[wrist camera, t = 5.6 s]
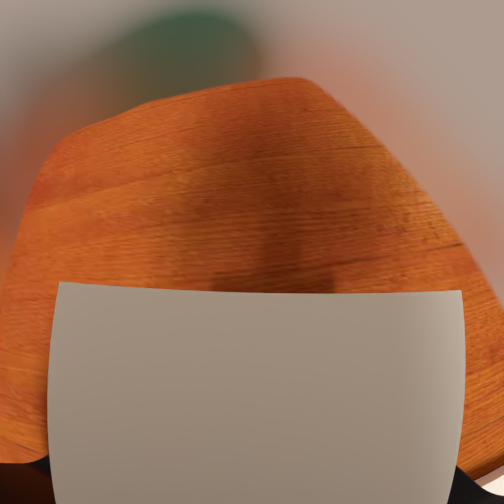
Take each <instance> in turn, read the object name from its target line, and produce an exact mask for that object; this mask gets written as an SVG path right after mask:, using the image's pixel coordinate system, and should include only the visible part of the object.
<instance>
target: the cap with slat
mask: <svg viewBox="0 0 504 504" xmlns="http://www.w3.org/2000/svg"><path fill="white" fill-rule="evenodd" d="M475 482H476V483H477V484H478V485H479V486H481V487H482V488H483V489H485V490H487V491H489V492H491V493H493V494H497V495H502V496H504V465H503V466H502V467H500V468H498V469H496V470H494V471H492V472H491V473H489V474H487V475H485V476H483V477H481V478H479V479H477V480H475Z"/></svg>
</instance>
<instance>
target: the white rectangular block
mask: <svg viewBox="0 0 504 504" xmlns="http://www.w3.org/2000/svg"><path fill="white" fill-rule="evenodd" d="M464 394H465V329H464V314H463V302H462V292H461V290H457V291H435V292H406V293H355V294H296V293H244V292H213V291H189V290H169V289H151V288H135V287H120V286H107V285H94V284H82V283H70V282H59V288H58V293H57V299H56V305H55V312H54V318H53V326H52V334H51V344H50V354H49V368H48V391H47V421H48V443H49V456H50V466H51V475H52V483H53V489H54V496H55V501H56V504H447V502H448V498H449V494H450V490H451V486H452V481H453V477H454V472H455V467H456V462H457V456H458V450H459V444H460V436H461V428H462V419H463V408H464Z"/></svg>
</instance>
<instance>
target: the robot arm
mask: <svg viewBox="0 0 504 504" xmlns="http://www.w3.org/2000/svg"><path fill="white" fill-rule="evenodd" d="M0 504H56V501H55V496H54V489H53V483H52V475H51V466H50V456H49V454H48V455H47V456H45V457H43V458H41V459H39V460H37V461H34V462H30V463H0ZM447 504H504V496H502V495H497V494H493V493H491V492H489V491H487V490H485V489H483V488H482V487H481V486H479V485H478V484H477V483H476V482H475V481H474V480H472V479H471V478H470V477H469V476H468V475H467V474H466V473H464V472H463V471H462V470H461V469H460V468H459V467H458V466H456V467H455V472H454V477H453V481H452V486H451V490H450V494H449V498H448V502H447Z"/></svg>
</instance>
